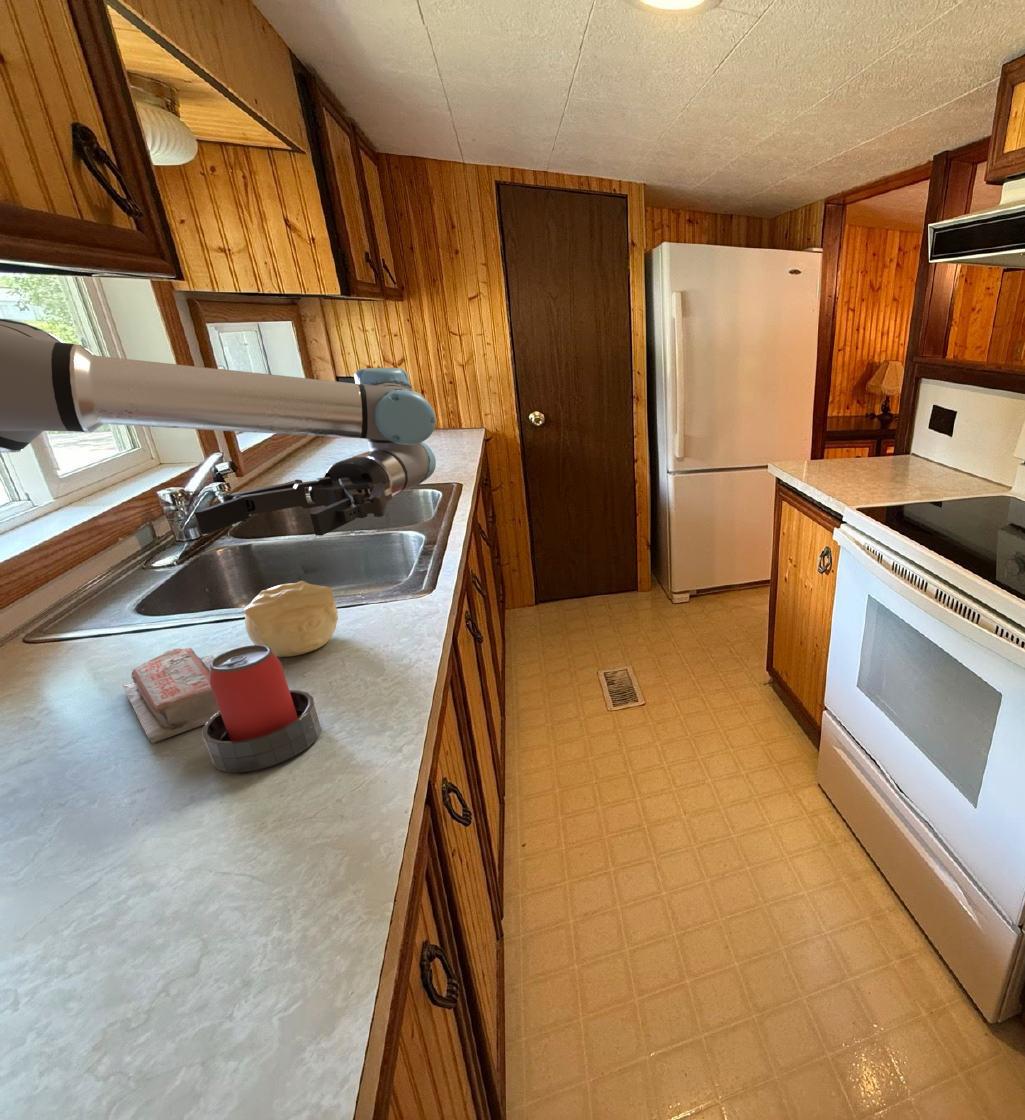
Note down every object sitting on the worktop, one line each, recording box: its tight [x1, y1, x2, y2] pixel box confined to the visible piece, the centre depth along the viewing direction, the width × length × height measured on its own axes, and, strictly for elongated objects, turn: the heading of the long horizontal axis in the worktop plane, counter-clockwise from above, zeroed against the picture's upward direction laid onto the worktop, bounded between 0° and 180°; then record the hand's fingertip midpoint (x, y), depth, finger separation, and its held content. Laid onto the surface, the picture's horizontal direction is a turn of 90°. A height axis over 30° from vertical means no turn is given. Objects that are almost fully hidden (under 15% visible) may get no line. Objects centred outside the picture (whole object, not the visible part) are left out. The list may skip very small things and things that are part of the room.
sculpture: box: [243, 580, 339, 658], centre depth 94 cm, size 11×12×11 cm
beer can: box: [210, 644, 298, 741], centre depth 71 cm, size 7×7×12 cm
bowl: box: [201, 689, 322, 773], centre depth 73 cm, size 11×11×4 cm
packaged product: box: [122, 647, 220, 744], centre depth 81 cm, size 18×5×10 cm
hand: (258, 524), depth 71 cm, fingers open, 13 cm apart
